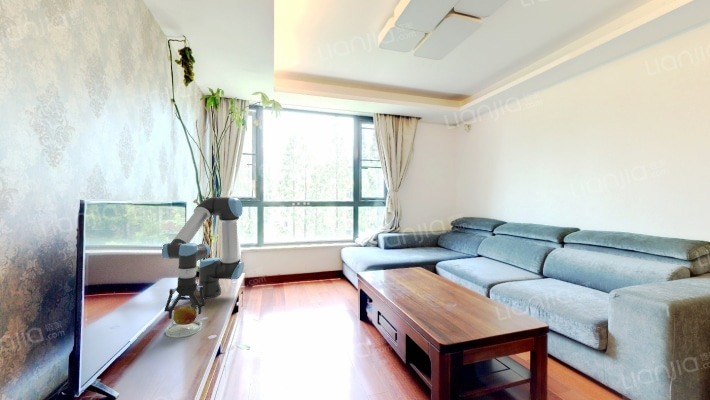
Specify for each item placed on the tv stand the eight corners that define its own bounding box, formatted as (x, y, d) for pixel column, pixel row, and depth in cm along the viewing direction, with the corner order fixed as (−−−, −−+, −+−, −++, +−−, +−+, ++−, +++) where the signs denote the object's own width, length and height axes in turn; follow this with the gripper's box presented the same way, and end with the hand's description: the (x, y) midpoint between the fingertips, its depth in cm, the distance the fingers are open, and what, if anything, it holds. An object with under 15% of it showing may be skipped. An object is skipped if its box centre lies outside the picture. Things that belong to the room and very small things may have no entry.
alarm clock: (203, 308, 161) (204, 280, 161) (193, 310, 157) (194, 281, 157) (196, 302, 168) (198, 275, 168) (186, 305, 164) (188, 277, 164)
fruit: (200, 320, 138) (201, 304, 138) (187, 329, 129) (188, 311, 129) (182, 319, 139) (183, 303, 139) (168, 327, 130) (169, 310, 130)
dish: (166, 326, 137) (166, 322, 137) (201, 321, 145) (201, 317, 145) (164, 340, 124) (164, 336, 124) (202, 333, 132) (203, 329, 132)
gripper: (158, 280, 126) (156, 330, 125) (213, 276, 137) (211, 322, 137) (159, 276, 132) (157, 324, 132) (212, 272, 143) (210, 316, 143)
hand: (184, 323), depth 134 cm, fingers closed on fruit, 9 cm apart
